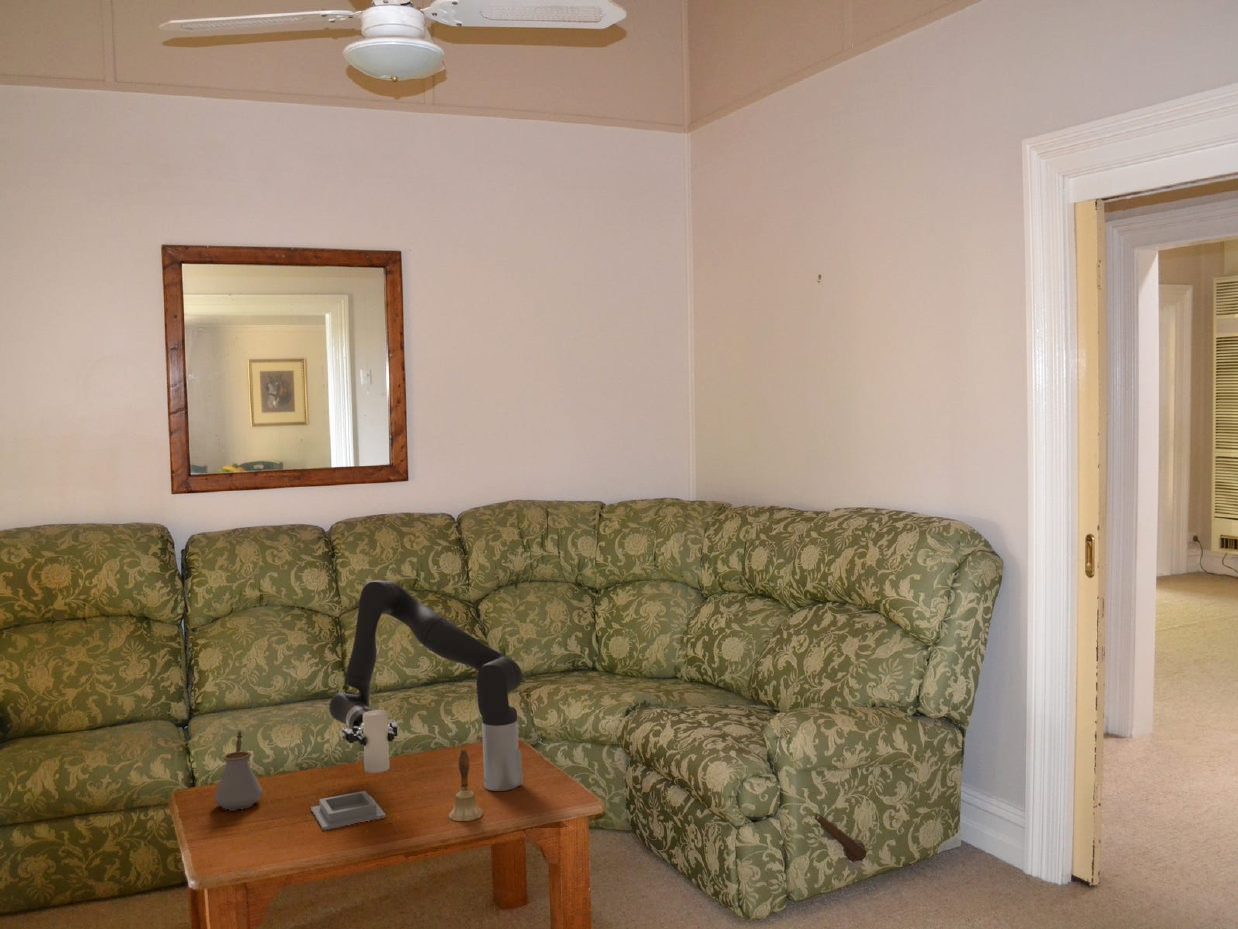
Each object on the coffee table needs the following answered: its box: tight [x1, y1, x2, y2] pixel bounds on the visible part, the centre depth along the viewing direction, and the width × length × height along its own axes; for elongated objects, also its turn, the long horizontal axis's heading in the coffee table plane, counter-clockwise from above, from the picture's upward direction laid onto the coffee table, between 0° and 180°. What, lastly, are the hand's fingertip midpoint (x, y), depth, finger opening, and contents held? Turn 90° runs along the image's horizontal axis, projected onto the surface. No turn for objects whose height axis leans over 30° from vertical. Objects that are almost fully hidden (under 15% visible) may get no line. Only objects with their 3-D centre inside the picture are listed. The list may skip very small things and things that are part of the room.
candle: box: [363, 709, 390, 774], centre depth 263 cm, size 6×6×14 cm
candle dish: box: [310, 790, 387, 831], centre depth 260 cm, size 15×15×3 cm
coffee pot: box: [214, 730, 263, 811], centre depth 273 cm, size 21×12×15 cm, turn 16°
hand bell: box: [448, 749, 484, 822], centre depth 256 cm, size 8×8×16 cm
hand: (378, 739), depth 261 cm, fingers closed on candle, 6 cm apart
